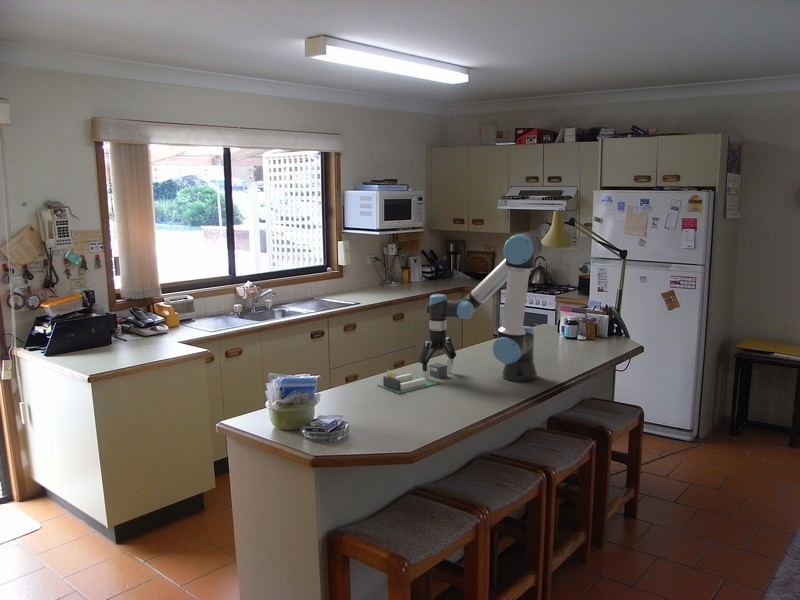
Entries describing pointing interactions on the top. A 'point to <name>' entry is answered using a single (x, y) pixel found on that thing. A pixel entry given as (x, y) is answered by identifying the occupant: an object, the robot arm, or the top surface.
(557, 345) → the top surface
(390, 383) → the header board
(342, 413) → the top surface
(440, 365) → the plug
